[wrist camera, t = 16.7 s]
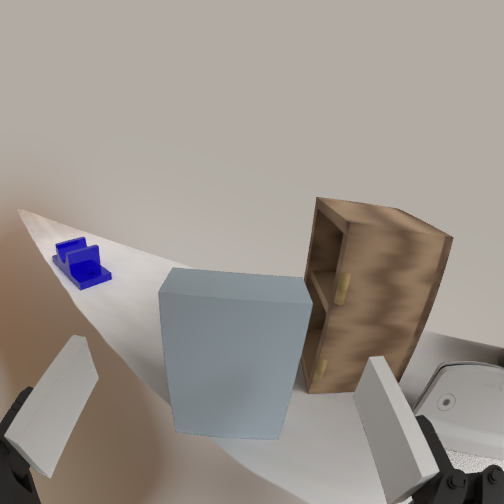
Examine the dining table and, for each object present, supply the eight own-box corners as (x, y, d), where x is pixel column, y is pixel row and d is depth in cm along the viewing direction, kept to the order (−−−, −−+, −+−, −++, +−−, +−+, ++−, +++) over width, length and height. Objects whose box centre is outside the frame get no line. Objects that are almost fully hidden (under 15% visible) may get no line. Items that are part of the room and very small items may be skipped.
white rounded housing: (401, 437, 23) (442, 356, 22) (403, 418, 27) (437, 346, 26) (510, 461, 15) (552, 386, 14) (502, 443, 19) (538, 375, 18)
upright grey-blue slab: (275, 404, 28) (301, 273, 23) (278, 439, 24) (312, 303, 18) (183, 398, 28) (175, 263, 22) (175, 431, 23) (158, 291, 18)
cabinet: (366, 331, 43) (398, 208, 36) (397, 389, 30) (456, 239, 23) (294, 330, 42) (316, 197, 35) (308, 396, 30) (352, 224, 23)
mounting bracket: (53, 263, 56) (49, 238, 53) (78, 255, 61) (76, 232, 59) (81, 292, 46) (76, 262, 44) (112, 281, 52) (109, 252, 50)
